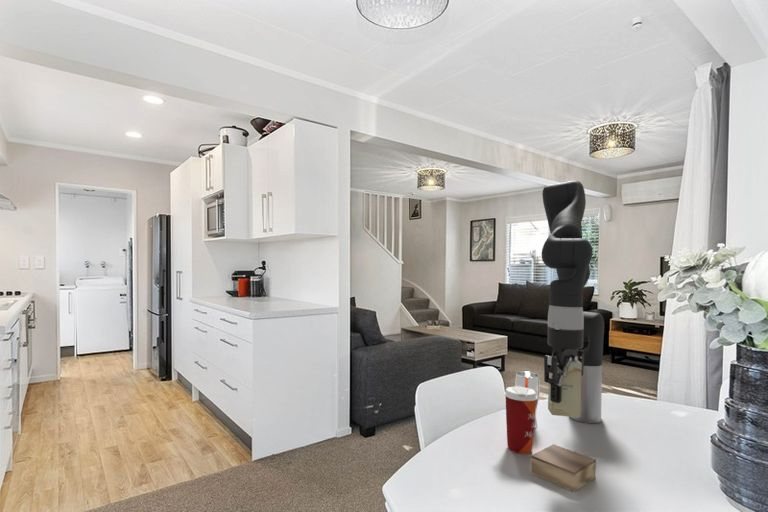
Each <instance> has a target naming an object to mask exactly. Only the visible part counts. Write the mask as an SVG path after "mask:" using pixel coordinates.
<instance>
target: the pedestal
mask: <svg viewBox="0 0 768 512" xmlns="http://www.w3.org/2000/svg"><path fill="white" fill-rule="evenodd" d="M596 461H597V460H596V458H593V457H590V456H587V455H585V454H582V453H579V452H576V451H573V450H570V449H568V448H565V447H562V446H561V445H560V446H559V445H558V444H554V443H552V444H551V445H549V446H547V447H545V448H544V449H541V450H539V451H537V452H535V453H533V454H531V456H530V474H532V475H535V476H536V477H539V478H541V479H544V480H545V481H548V482H550V483H553V484H555V485H558V486H559V487H562V488H564V489H567V490H569V491H571V492H574V493H575V492H576V491H577V490H580V489H581V488H582V487H584V486H585V485H586V484H588V483H589V482H591V481H592V480H594V479H595V478H596V471H597V470H596V468H597V467H596V466H597V465H596V463H597V462H596Z"/></svg>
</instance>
